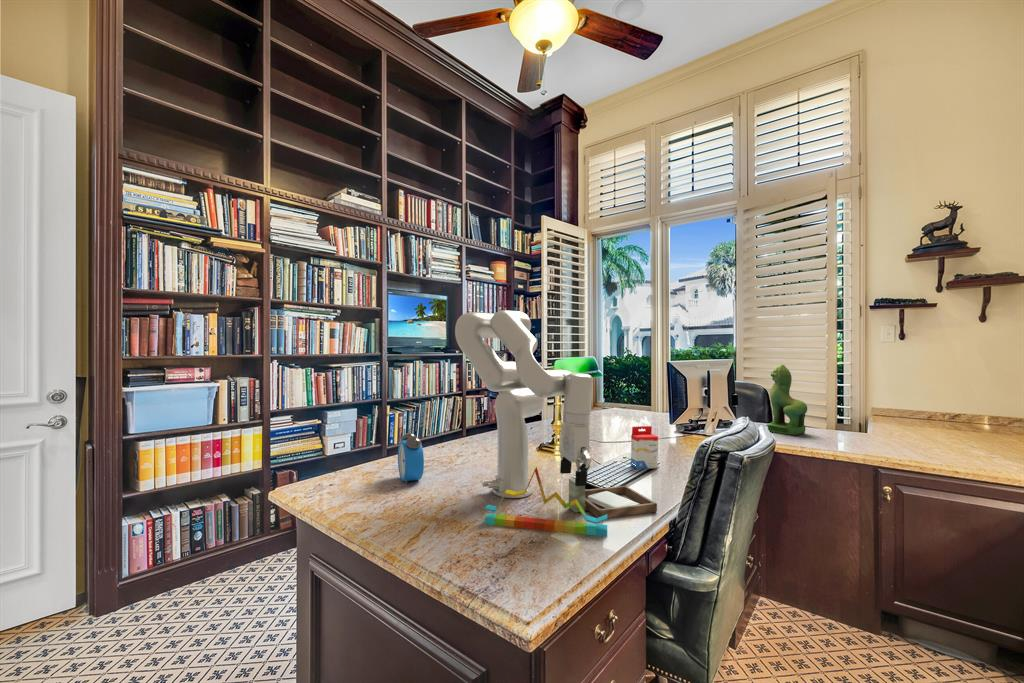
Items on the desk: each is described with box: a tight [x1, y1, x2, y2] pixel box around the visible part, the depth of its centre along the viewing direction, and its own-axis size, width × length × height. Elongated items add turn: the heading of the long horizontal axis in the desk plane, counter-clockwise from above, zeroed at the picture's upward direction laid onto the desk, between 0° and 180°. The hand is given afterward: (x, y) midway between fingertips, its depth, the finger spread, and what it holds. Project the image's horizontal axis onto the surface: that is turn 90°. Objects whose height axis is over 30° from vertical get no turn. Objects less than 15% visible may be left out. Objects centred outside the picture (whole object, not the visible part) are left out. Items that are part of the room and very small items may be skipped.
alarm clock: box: [397, 432, 425, 485], centre depth 148 cm, size 13×6×15 cm, turn 25°
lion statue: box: [766, 364, 808, 436], centre depth 230 cm, size 14×17×35 cm
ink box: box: [630, 425, 659, 470], centre depth 166 cm, size 8×5×15 cm, turn 102°
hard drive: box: [587, 491, 640, 509], centre depth 127 cm, size 2×8×12 cm
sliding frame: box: [568, 477, 658, 519], centre depth 127 cm, size 22×16×8 cm
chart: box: [484, 466, 608, 537], centre depth 112 cm, size 30×3×15 cm, turn 77°
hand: (572, 479), depth 125 cm, fingers open, 9 cm apart
